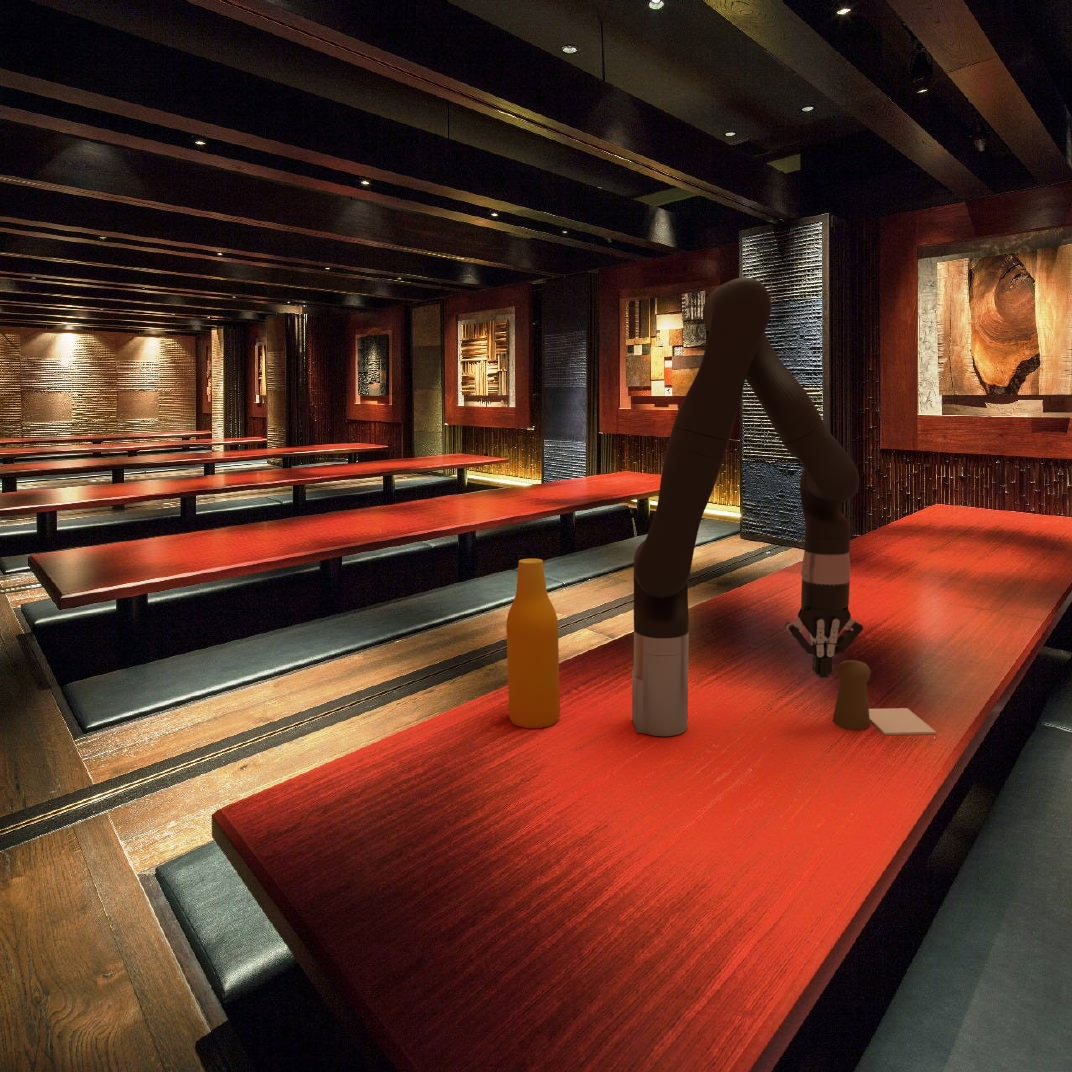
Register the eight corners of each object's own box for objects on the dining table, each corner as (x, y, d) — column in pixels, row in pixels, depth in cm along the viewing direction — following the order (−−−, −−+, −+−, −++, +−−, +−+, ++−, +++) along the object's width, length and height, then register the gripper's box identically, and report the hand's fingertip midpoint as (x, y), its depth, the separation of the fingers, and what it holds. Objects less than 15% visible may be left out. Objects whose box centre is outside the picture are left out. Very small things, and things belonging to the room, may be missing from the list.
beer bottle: (504, 728, 131) (498, 565, 126) (514, 707, 140) (509, 555, 135) (556, 730, 129) (553, 566, 124) (563, 709, 138) (560, 555, 133)
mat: (884, 734, 125) (884, 732, 125) (859, 711, 134) (859, 708, 134) (935, 734, 124) (936, 731, 124) (907, 710, 134) (907, 708, 134)
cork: (838, 713, 134) (841, 654, 132) (874, 721, 130) (878, 660, 128) (827, 724, 129) (830, 663, 127) (864, 733, 125) (867, 670, 124)
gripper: (793, 583, 122) (790, 684, 125) (875, 581, 121) (870, 683, 124) (779, 573, 129) (776, 669, 132) (856, 571, 129) (851, 667, 132)
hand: (821, 676), depth 128 cm, fingers closed
